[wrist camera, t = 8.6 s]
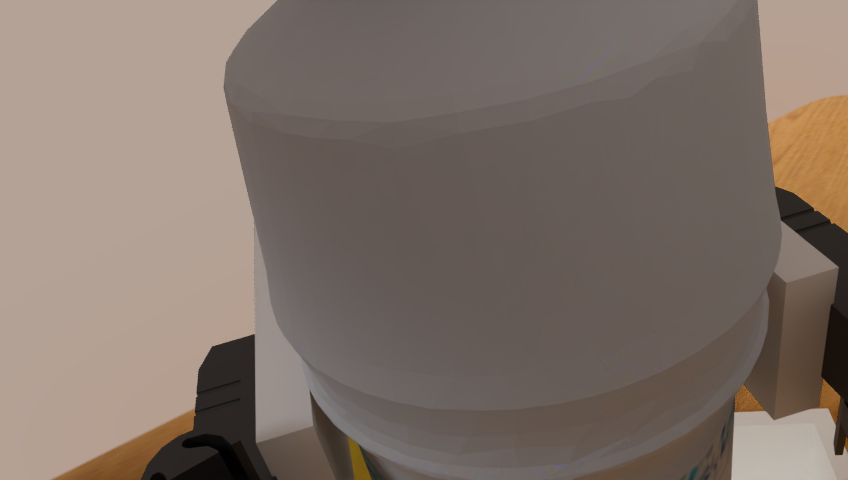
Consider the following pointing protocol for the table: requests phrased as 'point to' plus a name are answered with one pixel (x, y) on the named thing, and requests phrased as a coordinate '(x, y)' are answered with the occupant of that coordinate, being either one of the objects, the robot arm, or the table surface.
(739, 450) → the divided tray
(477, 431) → the bottle
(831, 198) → the table surface
